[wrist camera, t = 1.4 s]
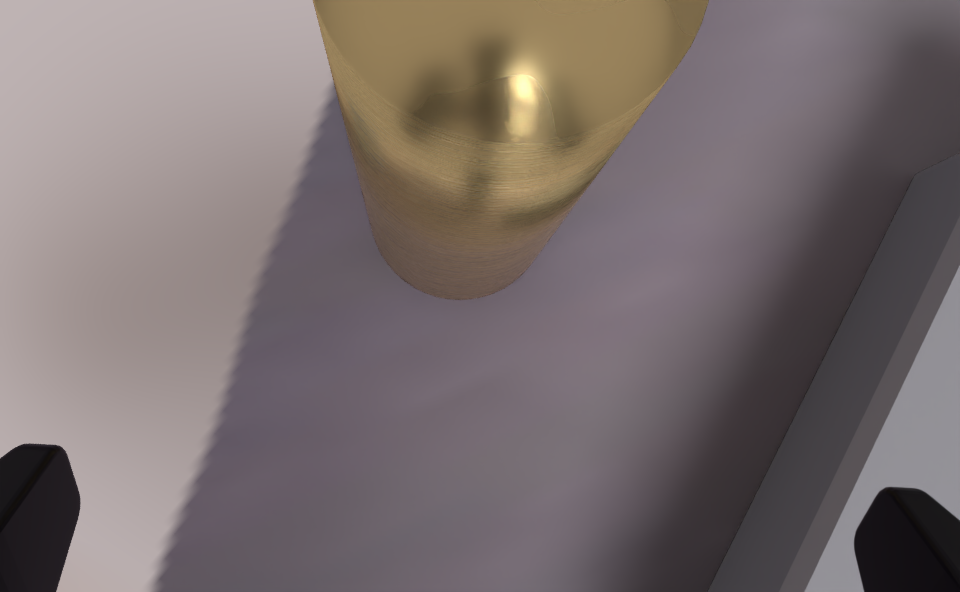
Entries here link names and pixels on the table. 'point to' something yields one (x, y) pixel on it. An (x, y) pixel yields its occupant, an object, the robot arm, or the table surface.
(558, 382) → the table surface
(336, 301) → the table surface
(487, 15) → the brass cylinder
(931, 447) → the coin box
